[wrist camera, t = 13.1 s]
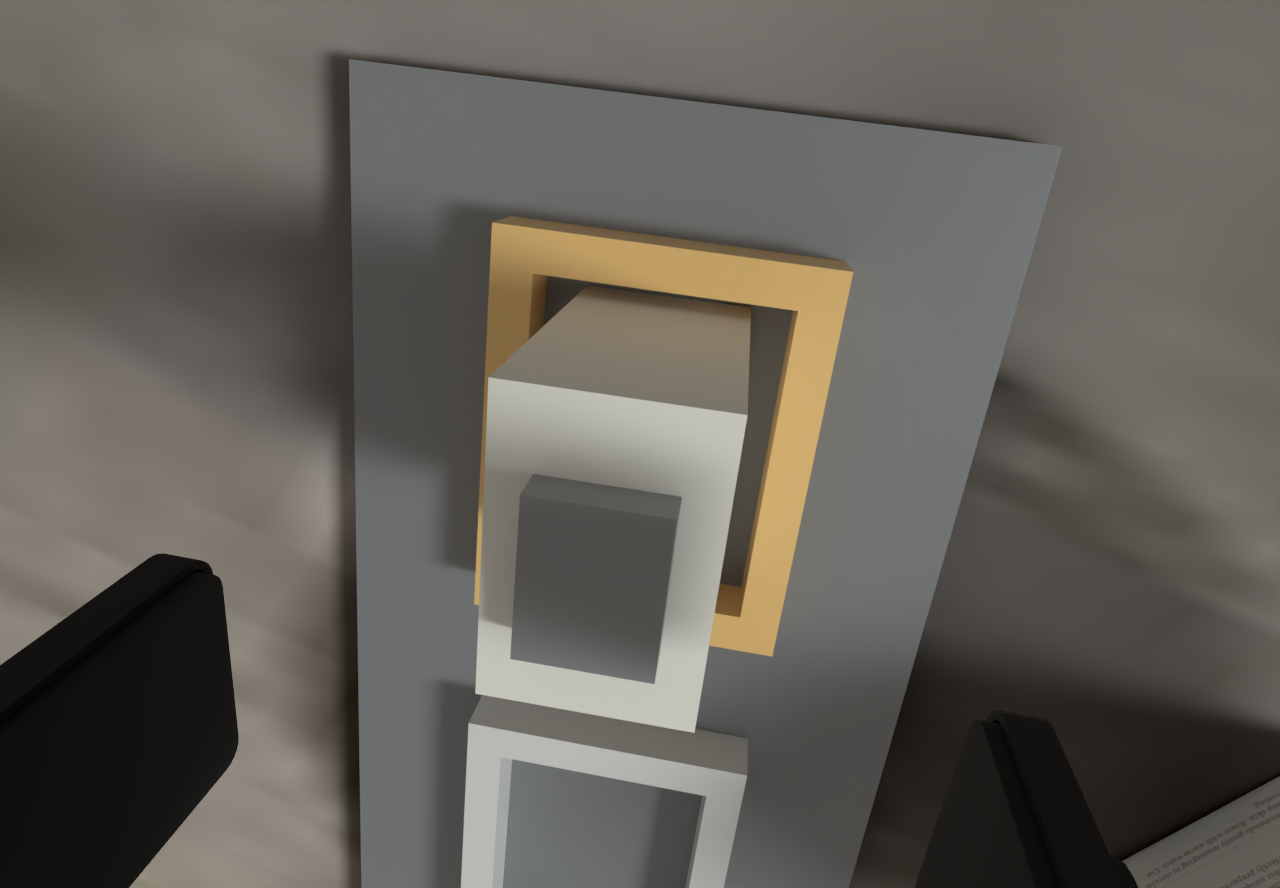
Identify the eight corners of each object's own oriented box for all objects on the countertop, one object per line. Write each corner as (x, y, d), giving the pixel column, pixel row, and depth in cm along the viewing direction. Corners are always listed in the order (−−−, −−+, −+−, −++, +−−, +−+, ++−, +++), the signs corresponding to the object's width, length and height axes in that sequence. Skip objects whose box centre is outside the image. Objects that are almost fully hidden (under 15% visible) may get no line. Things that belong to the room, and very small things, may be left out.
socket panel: (1047, 145, 19) (1089, 148, 16) (799, 1024, 30) (803, 1100, 27) (367, 62, 20) (316, 53, 18) (374, 934, 31) (343, 999, 29)
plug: (750, 307, 20) (747, 433, 12) (715, 528, 22) (691, 765, 14) (587, 285, 20) (471, 392, 12) (568, 505, 22) (460, 723, 14)
